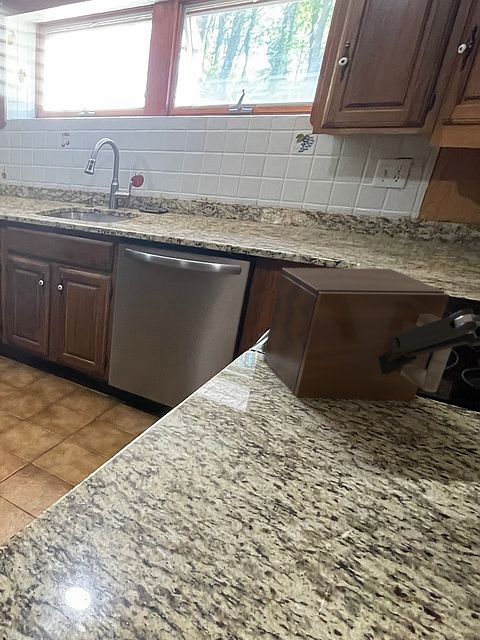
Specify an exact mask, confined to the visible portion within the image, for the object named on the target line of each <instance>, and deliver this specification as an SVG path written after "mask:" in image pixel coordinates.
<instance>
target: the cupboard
mask: <svg viewBox="0 0 480 640" xmlns="http://www.w3.org/2000/svg"><path fill="white" fill-rule="evenodd" d="M318 292H400V293H445V291H444V290H442V289H439V288H437V287H435V286H433V285H430V284H428V283H425V282H422V281H420V280H419V279H416V278H414V277H411V276H409V275H406V274H404V273H401V272H398V270H397V271H396V270H394V269H392V268H351V267H349V268H348V267H347V268H346V267H345V268H344V267H343V268H342V267H341V268H338V267H337V268H336V267H335V268H333V267H330V268H329V267H282V268H281V271H280V276H279V281H278V286H277V290H276V295H275V299H274V300H275V301H274V304H273V310H272V315H271V320H270V325H269V329H268V335H267V339H266V344H265V349H264V354H263V360H262V362H264V363H265V364H266V366H267V367H268V368H269V369H270V370H271V371H272V372H273V373H274V374H275V376H276V377H277V378H278V379H279V380H280V381H281V382H282V383H283V384H284V386H285V387H286V388H287V389H288V390H289V391H290V393H291V394H292V395H294V393H295V389H296V384H297V380H298V376H299V372H300V368H301V363H302V359H303V355H304V351H305V347H306V342H307V338H308V334H309V330H310V326H311V321H312V317H313V313H314V309H315V305H316V300H317V296H318Z"/></svg>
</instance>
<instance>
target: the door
mask: <svg viewBox="0 0 480 640" xmlns="http://www.w3.org/2000/svg"><path fill="white" fill-rule="evenodd" d="M450 296H451V294H449V293H446V292H444V293H400V292H318V296H317V300H316V305H315V309H314V313H313V317H312V321H311V326H310V330H309V334H308V338H307V342H306V347H305V351H304V355H303V359H302V363H301V368H300V372H299V376H298V380H297V384H296V389H295V393H294V394H293V396H295V398H305V399H306V398H310V399H315V398H316V399H339V400H341V399H342V400H372V401H373V400H374V401H405V402H408V401H409V402H414V401H415V398H416V395H417V392H418V389H419V388H420V389H421V390H423V391H424V392H428V393H436V392H437V391H438V387H439V385H440V383H441V379H442V377H443V374H444V372H445V368H446V365H447V362H448V360H449V357H450V355H451V351H452V349H453V347H452V348H447V349H443V350H438V351H434V352H432V355H431V358H430V361H429V363H428V360H429V357H430V354H431V352H430V353H425V354H421V355H416V357H417V359H415V360H413V361H411V362H410V363H408V364H406V365H404V366H402V367H401V368H399V369H397V370H395V371H393V372H392V373H390V374H388V375H382V372H381V367H380V363H379V358H378V357H380V356H382V355H383V354H385V353H386V352H387V351H389V350H390V349H392V347H391V343H390V338H389V337H391V336H393V335H396V334H399V333H402V332H405V331H408V330H411V329H414V328H417V327H420V326H422V325H425V324H428V323H431V322H434V321H437V320H440V319H443V318H444V317H443V316H444V313H445V311H446V307H447V305H448V302H449V299H450ZM427 363H428V366H427ZM426 366H427V369H426ZM425 369H426V370H425Z"/></svg>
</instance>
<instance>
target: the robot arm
mask: <svg viewBox="0 0 480 640" xmlns="http://www.w3.org/2000/svg"><path fill="white" fill-rule="evenodd" d="M478 327H480V314H474V311H473V309H472V308H471V307H470V308H464V309H460V310H458V311H456V312H454V313H452V314H451V315H449V316H446V317H442V319H440V320H437V321H434V322H431V323H428V324H425V325H422V326H420V327H417V328H414V329H411V330H408V331H405V332H402V333H399V334H396V335H393V336H391V337H389V338H390V343H391V347H392V349H390V350H389V351H387V352H386V353H385V354H383V355H382V356H380V357H378V358H379V363H380V367H381V372H382V375H388V374H390V373H392V372H393V371H395V370H397V369H399V368H401V367H402V366H404V365H406V364H408V363H410V362H411V361H413V360H415V359H417V357H416V355H421V354H425V353H430V354H431V353H433V352H434V351H438V350H443V349H447V348H452V349H453V348H457V347H461V346H465V345H471V346H473V347H477V346H478V347H479V346H480V337H477V333H476V331H475V330H477V329H478ZM476 362H477V365H478V369H479V370H480V358H477V359H476Z"/></svg>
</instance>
